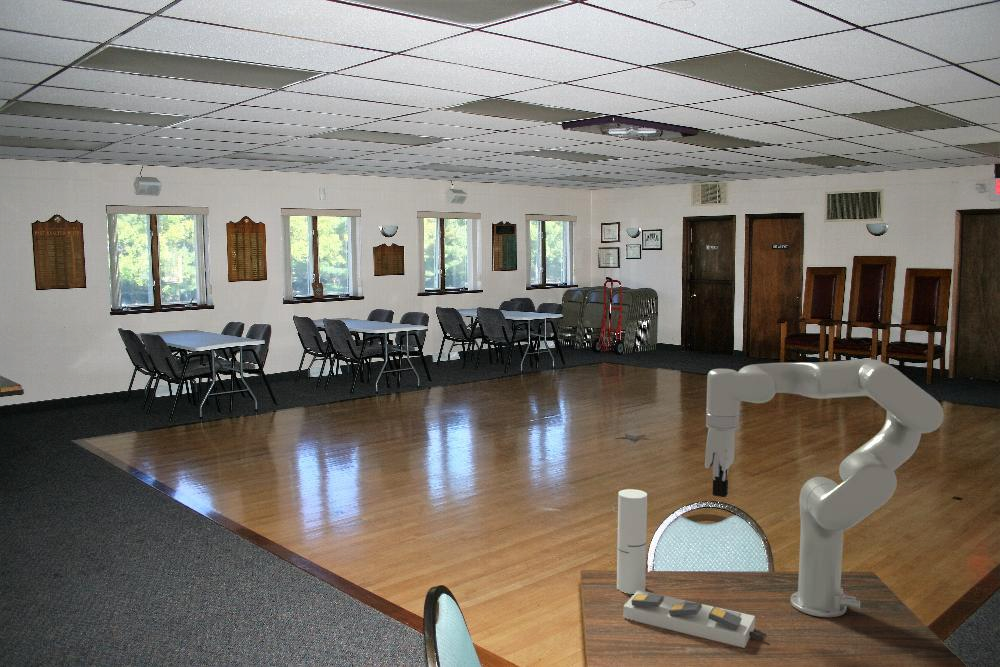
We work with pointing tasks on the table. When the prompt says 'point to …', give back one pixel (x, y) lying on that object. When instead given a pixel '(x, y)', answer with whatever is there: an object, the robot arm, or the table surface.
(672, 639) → the table surface
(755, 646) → the table surface
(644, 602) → the far rocker
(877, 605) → the table surface
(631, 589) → the cylindrical container
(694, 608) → the middle rocker
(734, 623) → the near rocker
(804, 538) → the robot arm
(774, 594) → the table surface
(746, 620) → the power strip
